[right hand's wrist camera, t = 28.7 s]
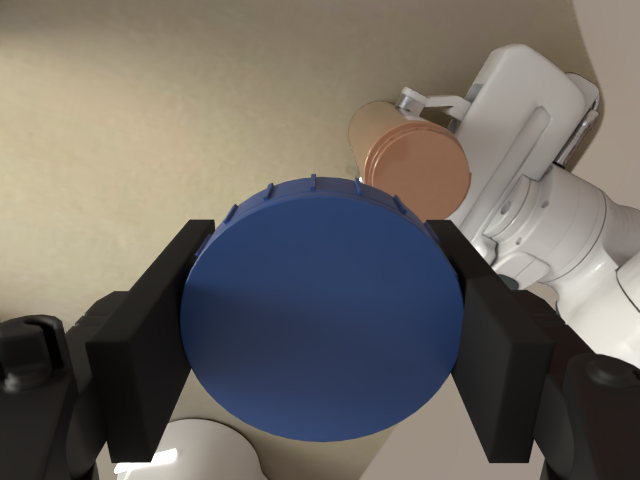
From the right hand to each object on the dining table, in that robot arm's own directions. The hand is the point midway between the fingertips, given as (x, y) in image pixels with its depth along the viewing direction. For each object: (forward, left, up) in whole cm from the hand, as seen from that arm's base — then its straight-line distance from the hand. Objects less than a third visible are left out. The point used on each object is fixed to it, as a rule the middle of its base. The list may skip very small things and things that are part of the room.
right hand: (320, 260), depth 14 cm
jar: (+4, -2, -28) cm, 28 cm away
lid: (0, 0, +4) cm, 4 cm away
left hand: (+4, -1, -21) cm, 22 cm away
